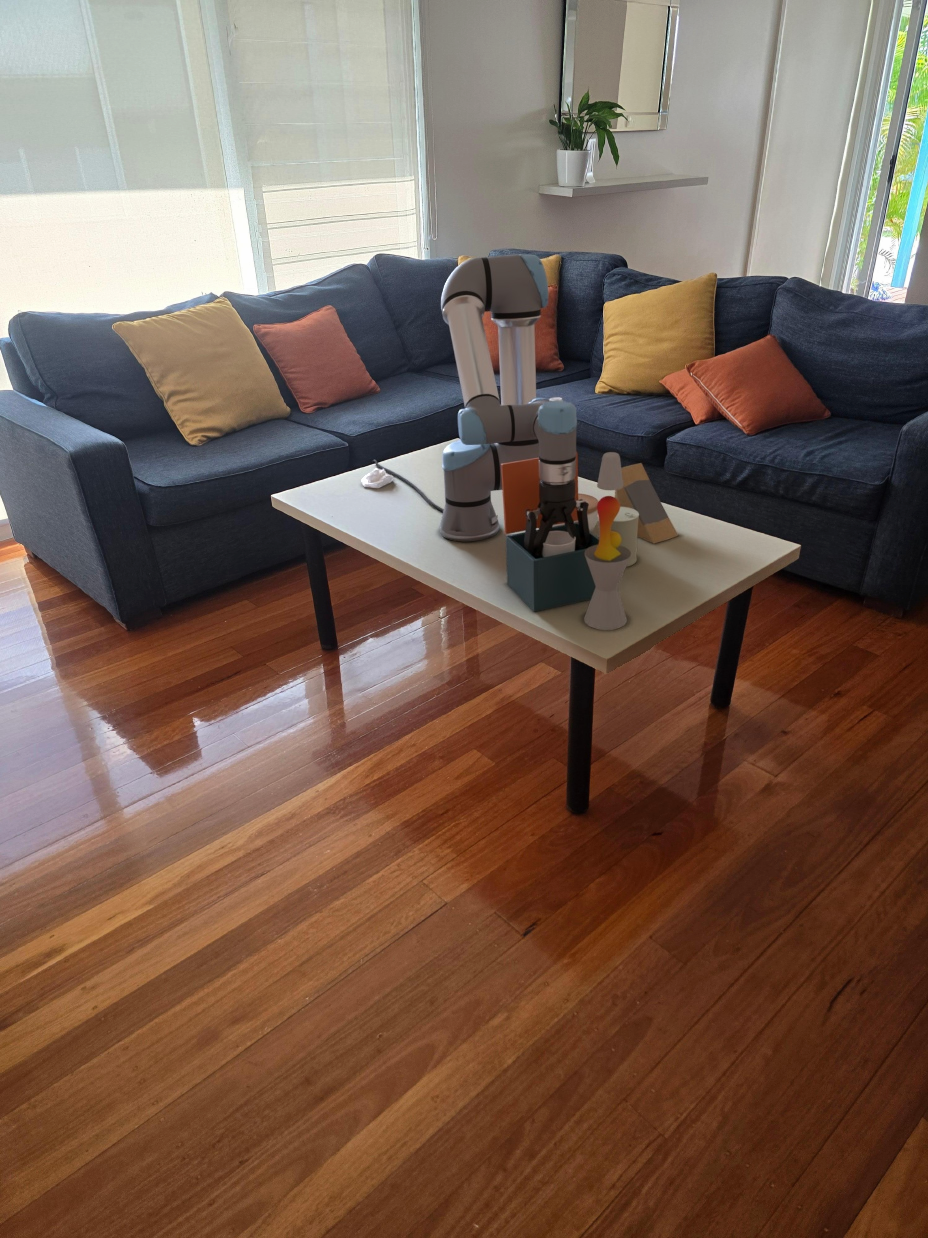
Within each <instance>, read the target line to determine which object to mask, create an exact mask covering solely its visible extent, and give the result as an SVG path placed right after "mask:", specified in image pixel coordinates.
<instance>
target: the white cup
mask: <svg viewBox="0 0 928 1238" xmlns="http://www.w3.org/2000/svg"><path fill="white" fill-rule="evenodd" d="M575 541H576V537H574V538H572V537H571V536H570V535H569V533H568V532H565V531H550V532H549V534H548V536H547V539H546V542H545V543H543V546H544V547H543V550H542V552H541V556H543V557H548V556H553V555H558V554H563V553H567V552H572V551H575Z"/></svg>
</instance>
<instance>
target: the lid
mask: <svg viewBox="0 0 928 1238" xmlns="http://www.w3.org/2000/svg"><path fill="white" fill-rule="evenodd" d="M578 461H579V460H578V451H576V476H575V478H574V480H575V482H576V486H575V500H576V501H578V493H579V468H578V467H579V465H578ZM501 475H502V490H501V491H502V501H503V502H502V504H503V505H502V506H503V521H504V534H505V535H511V534H516V533H522V532H525V530H526V522H527V518H526V514H525V511H526V510H527V509H530V510H533V509H535V508H537V507H538V504H539V502H540V499H539V481H540V480H541V479H540V478H539V458H533V459H527V460H521V461H515V462H509V463H503V464H501ZM571 516H572V518H573V521H577V520H578V517H577V510H576V507H575V509H574V510H573V512H572V513H571ZM541 518H542V515H541V514H539V515H538V519H537V520H536V521H537V526H536V529H539V527H540V521H541ZM547 522H548V521H547ZM562 523H564V522H558V523H556V524H553V525H557V524H562Z"/></svg>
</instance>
